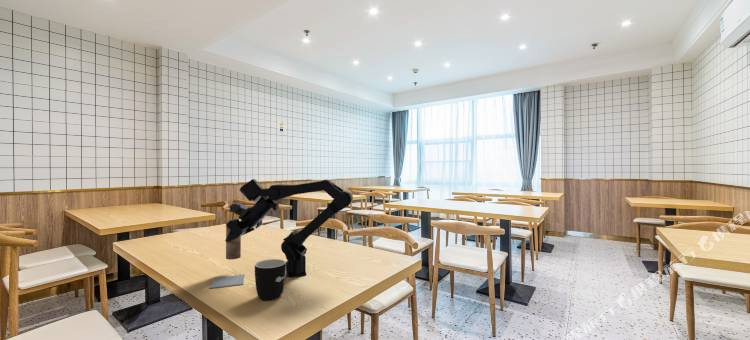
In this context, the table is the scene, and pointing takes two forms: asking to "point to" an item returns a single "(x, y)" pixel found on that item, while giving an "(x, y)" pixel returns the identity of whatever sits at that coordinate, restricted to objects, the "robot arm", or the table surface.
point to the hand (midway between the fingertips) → (229, 239)
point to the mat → (227, 281)
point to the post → (233, 247)
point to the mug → (270, 278)
